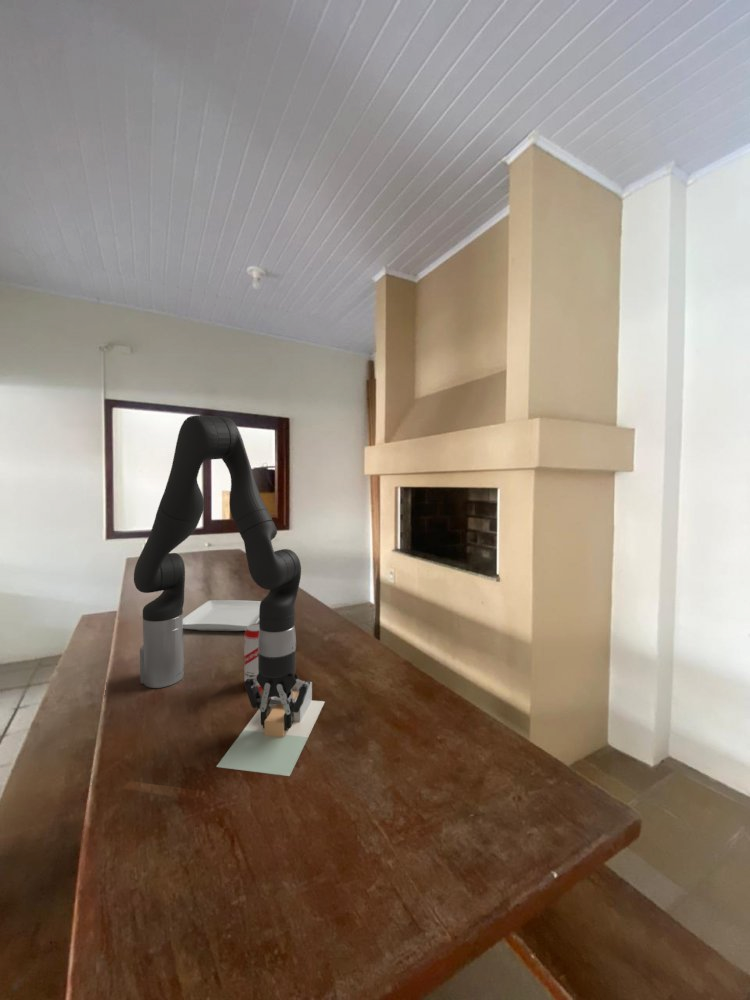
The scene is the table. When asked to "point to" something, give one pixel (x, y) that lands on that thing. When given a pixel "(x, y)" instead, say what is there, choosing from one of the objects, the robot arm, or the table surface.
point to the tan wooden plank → (276, 720)
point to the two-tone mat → (273, 741)
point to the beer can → (251, 652)
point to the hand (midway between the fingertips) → (277, 727)
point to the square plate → (223, 615)
